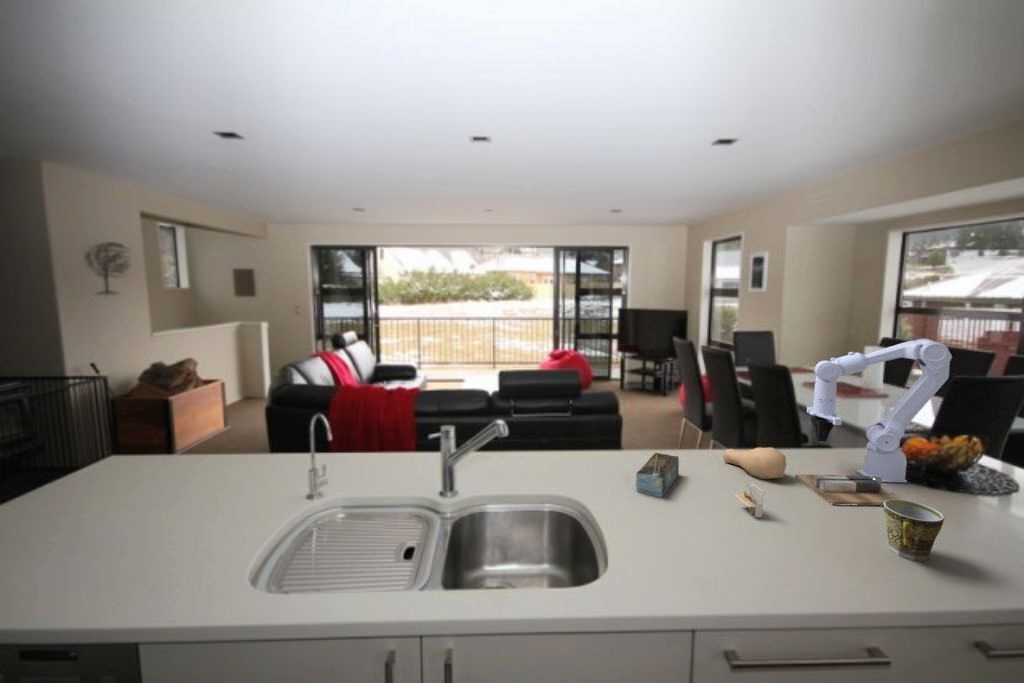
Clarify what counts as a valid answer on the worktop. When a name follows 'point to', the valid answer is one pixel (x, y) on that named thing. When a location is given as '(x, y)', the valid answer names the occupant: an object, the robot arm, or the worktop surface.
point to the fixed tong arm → (849, 486)
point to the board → (847, 493)
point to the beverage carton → (657, 474)
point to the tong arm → (845, 479)
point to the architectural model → (753, 499)
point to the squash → (758, 462)
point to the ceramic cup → (911, 528)
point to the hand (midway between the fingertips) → (821, 440)
